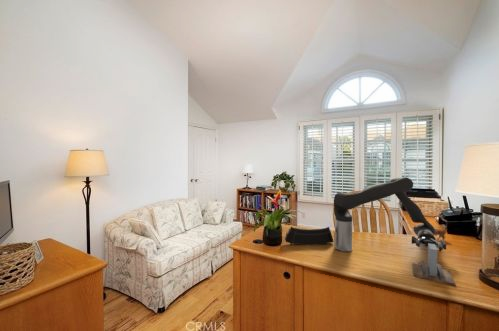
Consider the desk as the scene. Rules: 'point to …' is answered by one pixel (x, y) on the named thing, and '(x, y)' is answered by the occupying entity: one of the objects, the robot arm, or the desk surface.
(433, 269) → the door panel
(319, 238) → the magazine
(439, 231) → the bull figurine
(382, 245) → the desk surface
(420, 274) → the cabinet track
